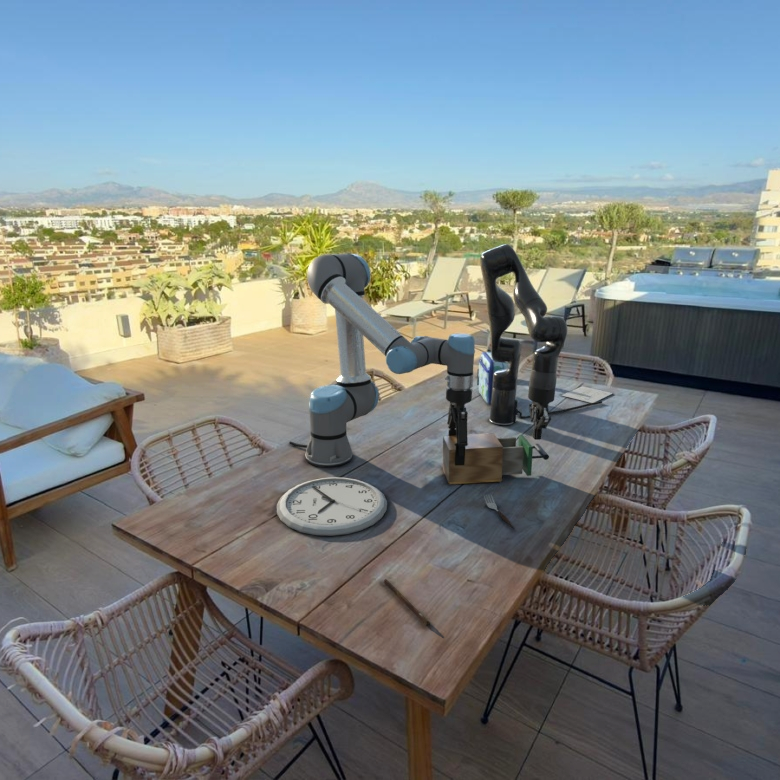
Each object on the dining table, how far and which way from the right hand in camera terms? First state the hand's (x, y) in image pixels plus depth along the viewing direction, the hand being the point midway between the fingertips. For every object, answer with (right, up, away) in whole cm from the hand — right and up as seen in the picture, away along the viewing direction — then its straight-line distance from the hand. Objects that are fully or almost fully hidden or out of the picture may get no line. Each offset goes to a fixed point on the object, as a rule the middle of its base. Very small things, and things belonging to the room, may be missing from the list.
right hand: (536, 438), depth 159 cm
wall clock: (-60, -17, -16) cm, 65 cm away
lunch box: (+1, +11, +74) cm, 75 cm away
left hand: (-25, -5, 0) cm, 25 cm away
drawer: (-7, -10, +2) cm, 12 cm away
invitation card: (+47, +13, +83) cm, 96 cm away
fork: (-15, -19, -20) cm, 32 cm away
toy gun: (+5, +22, +112) cm, 114 cm away
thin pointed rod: (-42, -29, -53) cm, 73 cm away
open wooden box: (-20, -11, +2) cm, 23 cm away
